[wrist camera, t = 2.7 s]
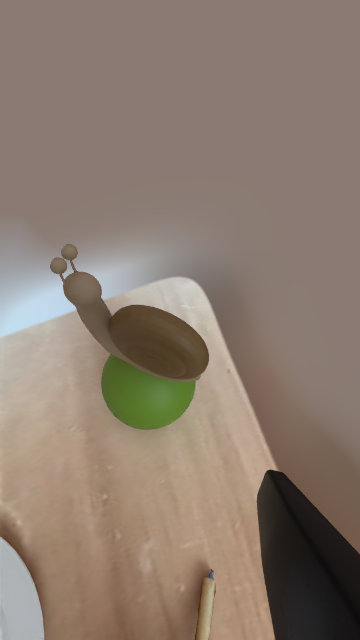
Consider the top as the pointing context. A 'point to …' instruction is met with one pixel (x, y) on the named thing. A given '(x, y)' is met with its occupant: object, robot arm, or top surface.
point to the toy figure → (206, 608)
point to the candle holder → (18, 599)
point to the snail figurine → (138, 352)
